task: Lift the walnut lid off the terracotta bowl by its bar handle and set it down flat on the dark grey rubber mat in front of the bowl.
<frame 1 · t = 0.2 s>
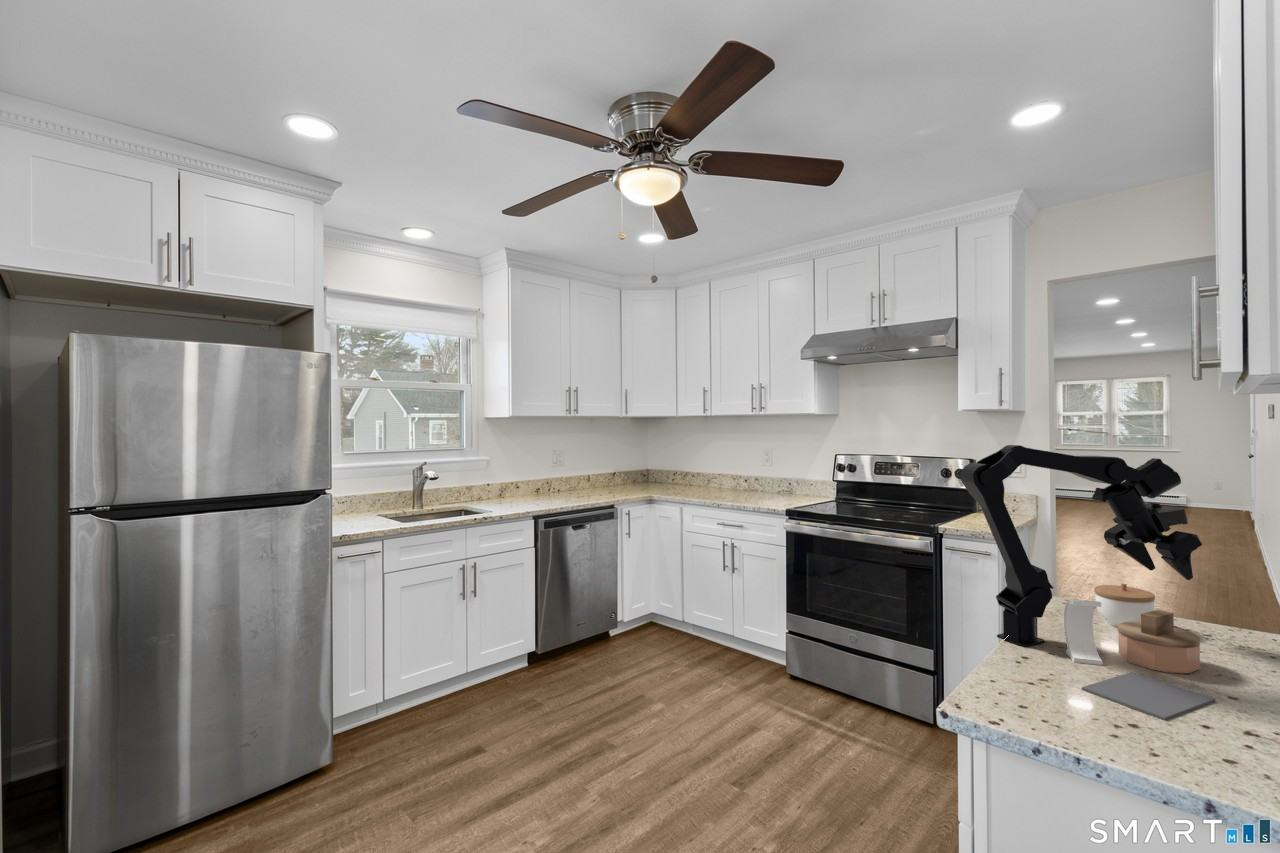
hand: (1170, 574, 125), 14 cm above the counter, tool tilted 30°, fingers open, 9 cm apart
bowl: (1157, 662, 115), on the counter
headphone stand: (1083, 658, 118), on the counter
lid: (1157, 636, 115), point 5 cm above the counter, touching bowl
mat: (1146, 695, 102), on the counter
lidded jar: (1124, 625, 136), on the counter
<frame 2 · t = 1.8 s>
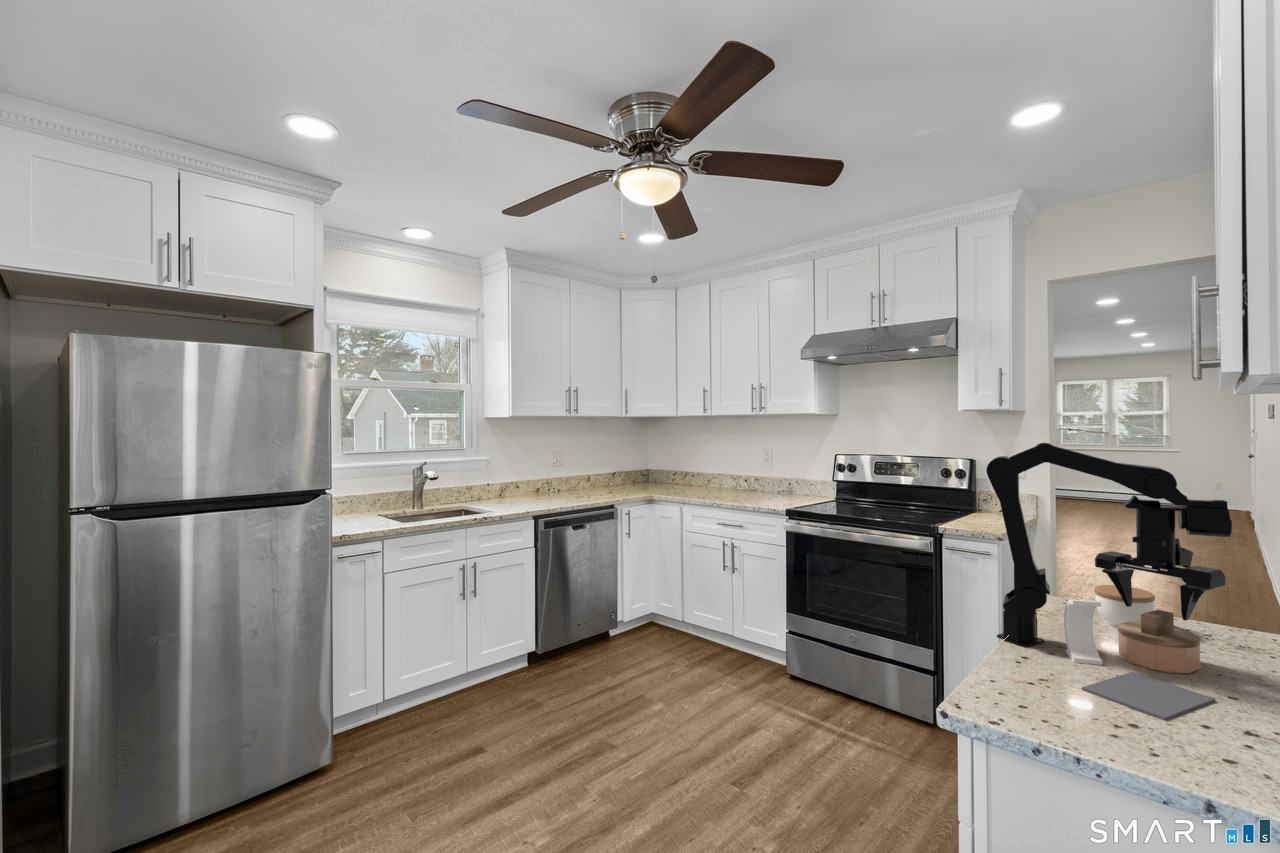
hand: (1156, 613, 115), 9 cm above the counter, tool pointing down, fingers open, 9 cm apart
nothing on the counter moved.
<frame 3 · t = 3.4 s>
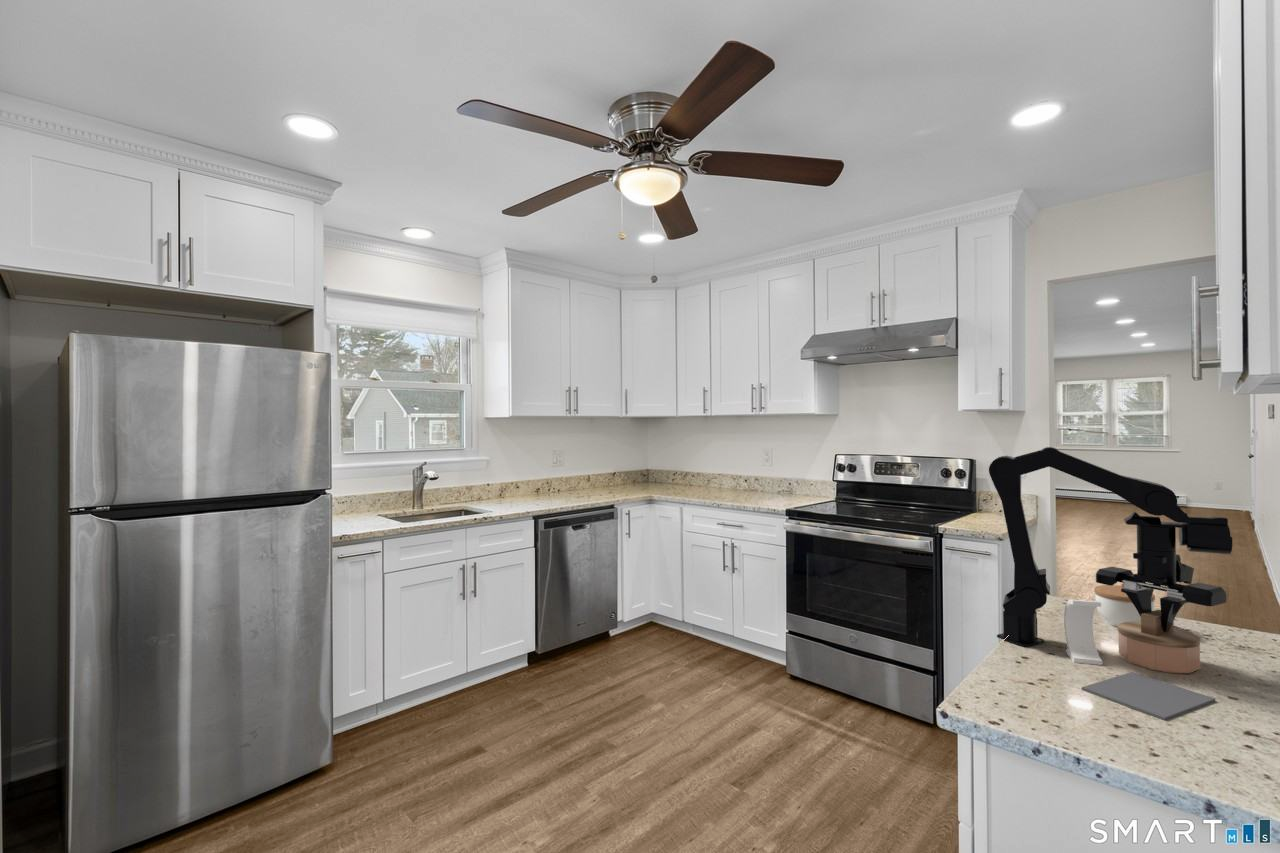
hand: (1157, 629, 115), 6 cm above the counter, tool pointing down, fingers closed on lid, 2 cm apart
lid: (1157, 636, 115), point 5 cm above the counter, touching bowl, gripper
everything else where it was.
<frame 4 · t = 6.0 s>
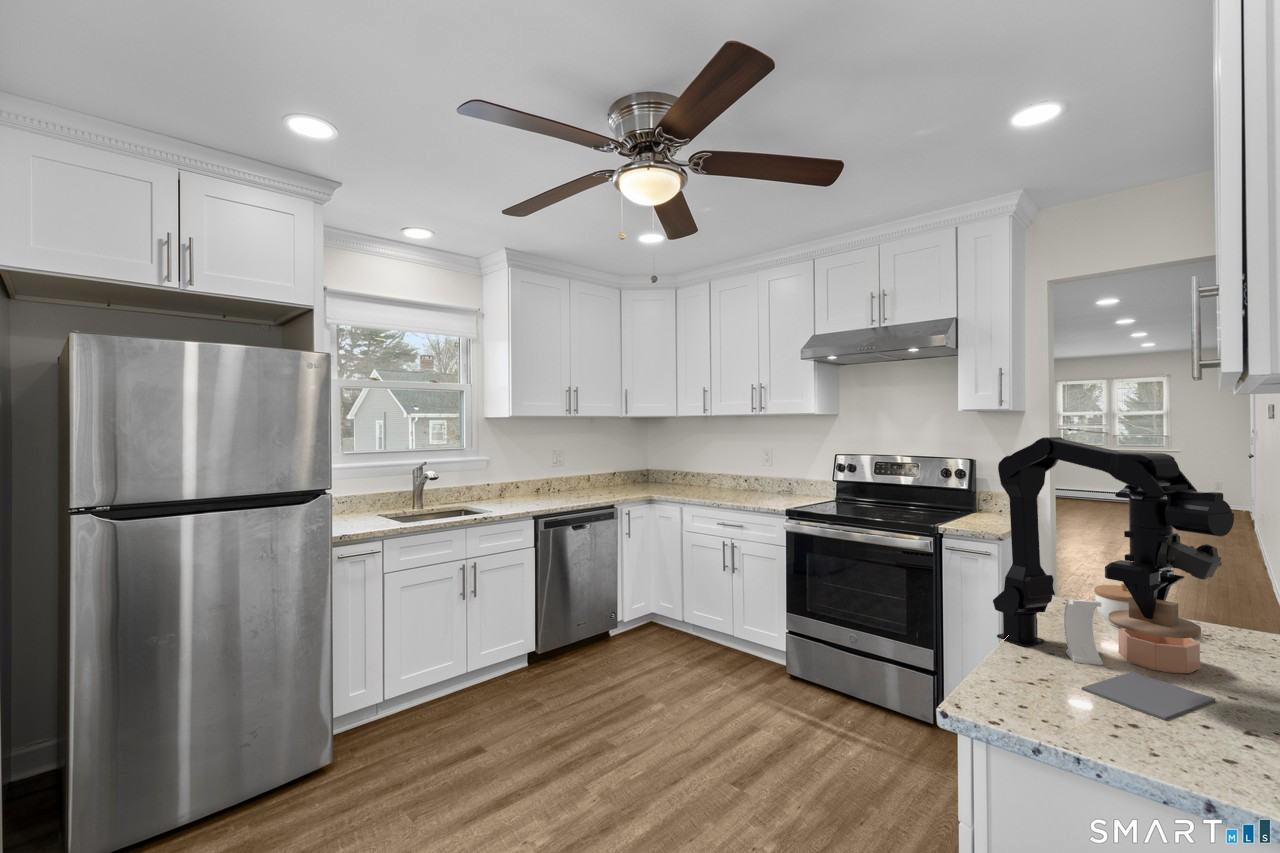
hand: (1152, 617, 103), 13 cm above the counter, tool pointing down, fingers closed on lid, 2 cm apart
lid: (1153, 625, 102), point 12 cm above the counter, touching gripper
everything else where it was.
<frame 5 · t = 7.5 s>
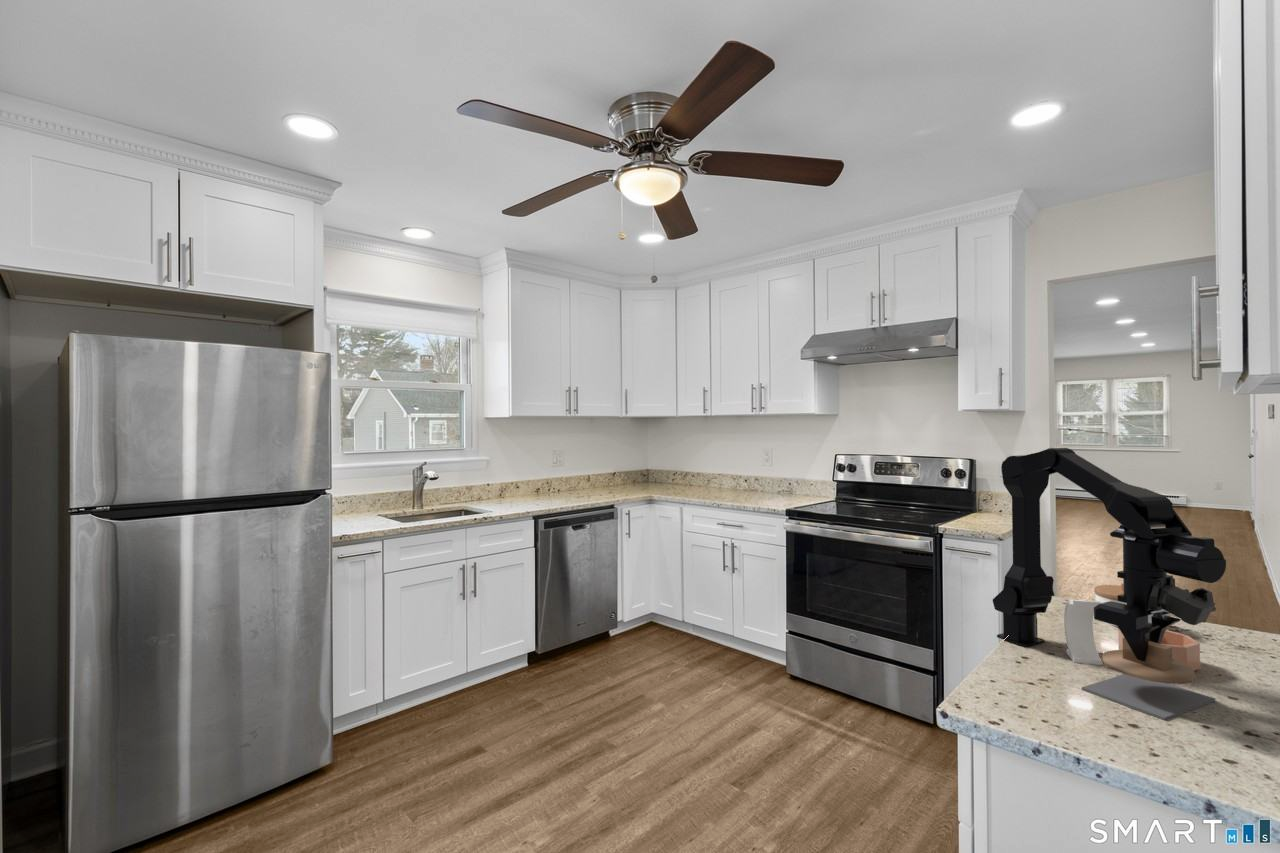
hand: (1145, 659, 102), 6 cm above the counter, tool pointing down, fingers closed on lid, 2 cm apart
lid: (1147, 668, 102), point 5 cm above the counter, touching gripper
everything else where it was.
when the fingers open (3 cm above the counter, at t = 8.6 s): lid drops 2 cm, resting on mat.
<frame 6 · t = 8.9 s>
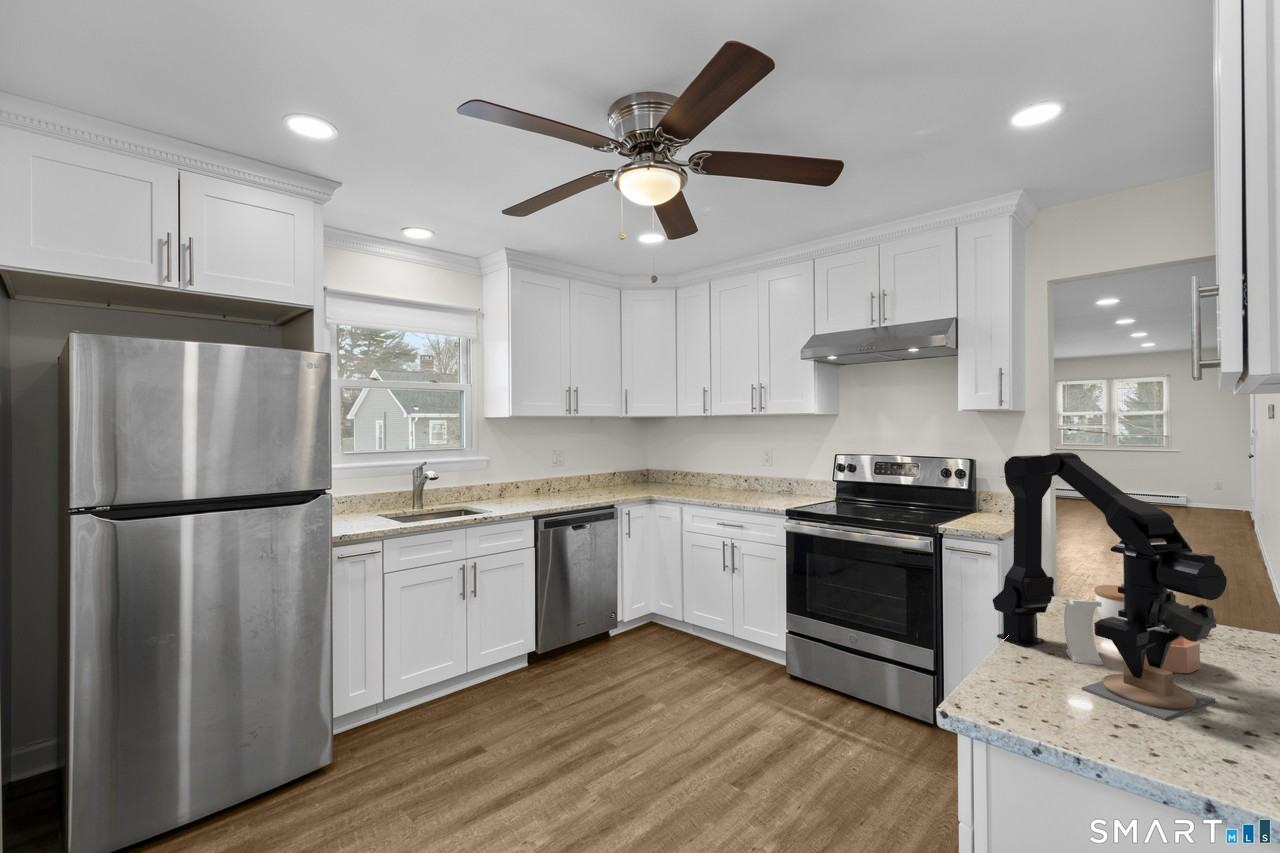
hand: (1146, 674, 102), 3 cm above the counter, tool pointing down, fingers open, 5 cm apart
lid: (1147, 693, 102), resting on mat
everything else where it was.
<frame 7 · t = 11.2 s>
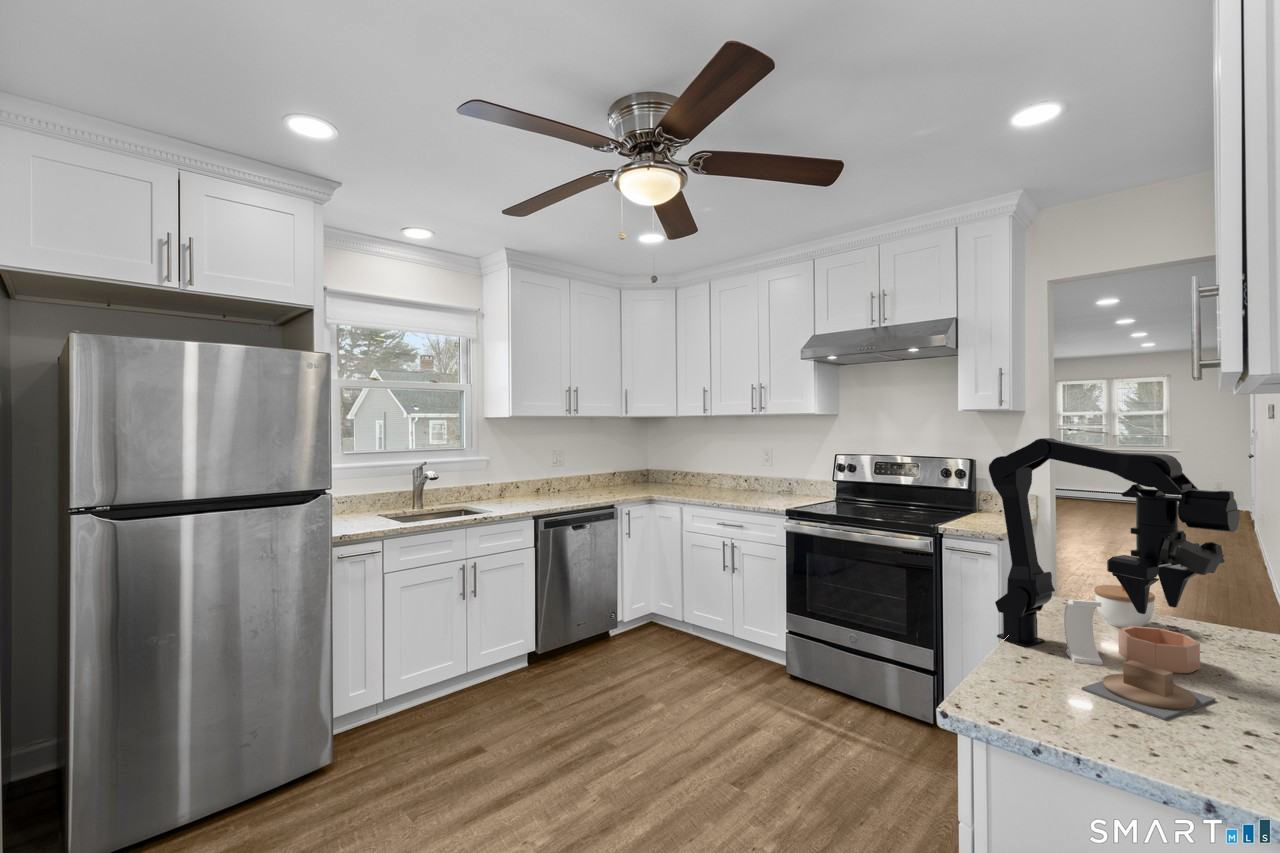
hand: (1157, 610, 108), 13 cm above the counter, tool pointing down, fingers open, 9 cm apart
nothing on the counter moved.
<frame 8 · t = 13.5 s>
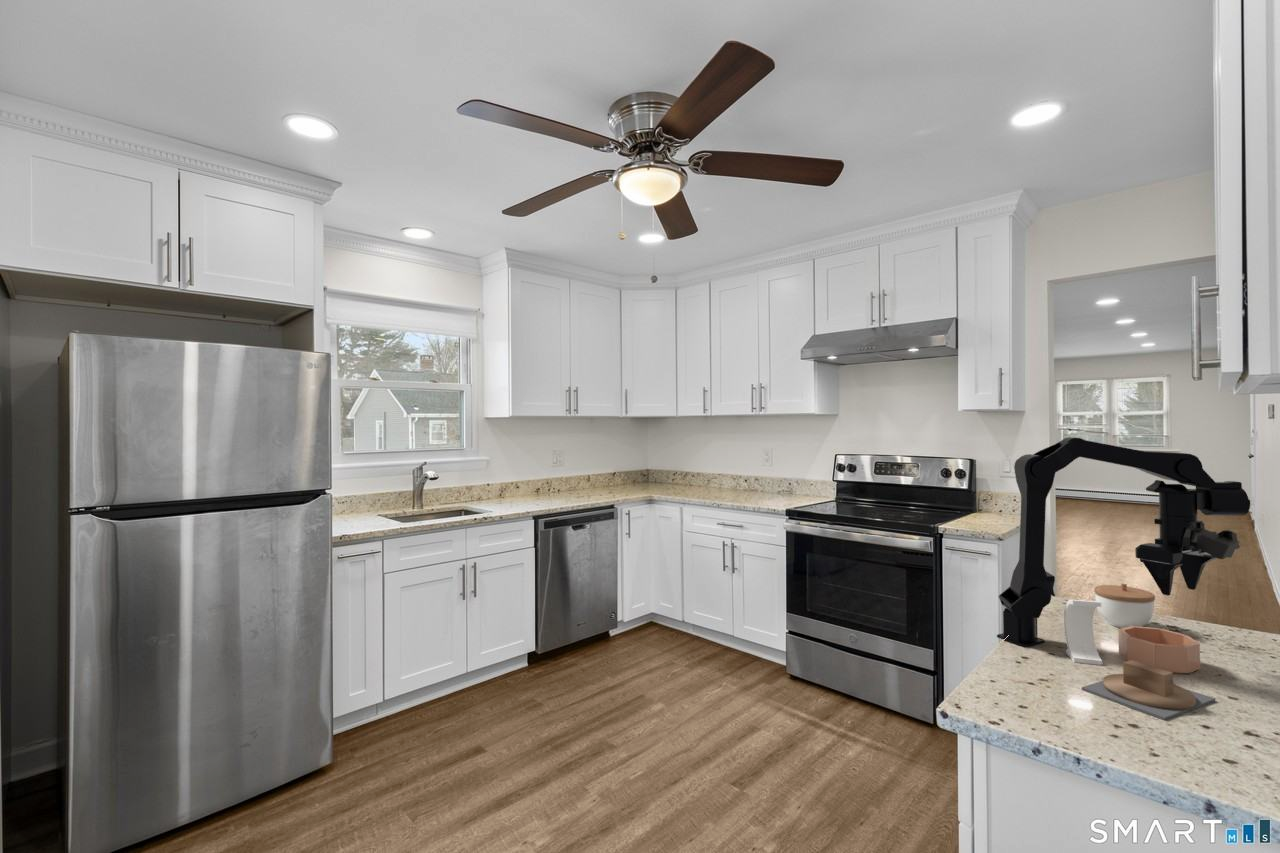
hand: (1179, 592, 120), 12 cm above the counter, tool pointing down, fingers open, 9 cm apart
nothing on the counter moved.
at the end: lid inside the target area on the mat (0.1 cm from its centre), point 0.4 cm above the mat's base; lid touching mat; lid tilted 0° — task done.
